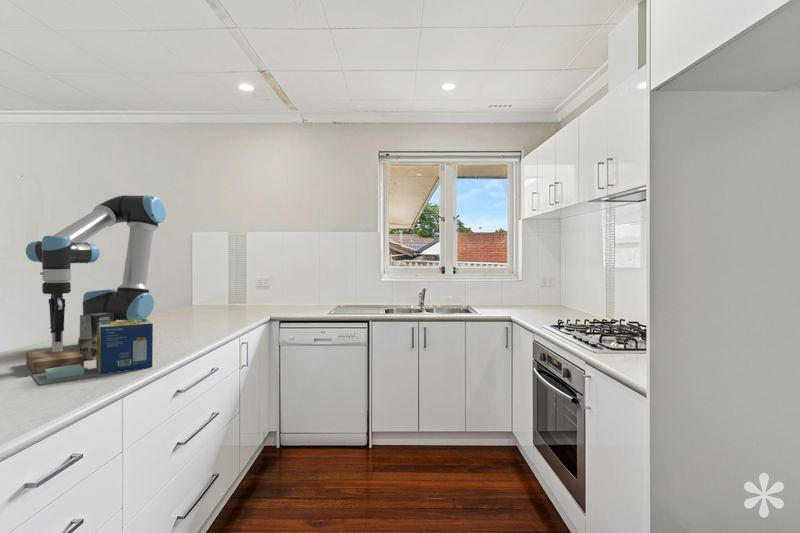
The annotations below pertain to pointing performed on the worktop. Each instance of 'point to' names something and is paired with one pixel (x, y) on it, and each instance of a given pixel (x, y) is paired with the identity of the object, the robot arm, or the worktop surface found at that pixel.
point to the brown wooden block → (53, 359)
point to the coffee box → (91, 332)
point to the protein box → (124, 345)
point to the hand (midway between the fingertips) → (57, 350)
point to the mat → (43, 380)
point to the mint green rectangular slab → (64, 371)
